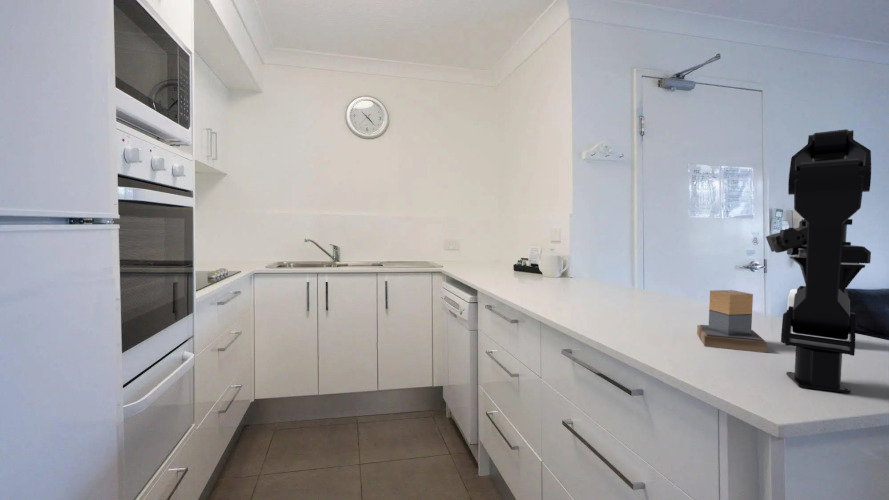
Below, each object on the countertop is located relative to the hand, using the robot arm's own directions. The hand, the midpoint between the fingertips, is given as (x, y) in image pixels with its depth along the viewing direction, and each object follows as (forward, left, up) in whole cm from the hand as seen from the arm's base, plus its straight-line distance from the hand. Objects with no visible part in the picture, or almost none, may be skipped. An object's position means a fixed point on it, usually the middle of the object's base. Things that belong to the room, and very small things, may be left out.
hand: (821, 297), depth 77 cm
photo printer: (+20, -6, -13) cm, 25 cm away
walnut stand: (+11, +12, -13) cm, 21 cm away
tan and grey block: (+11, +12, -11) cm, 19 cm away
